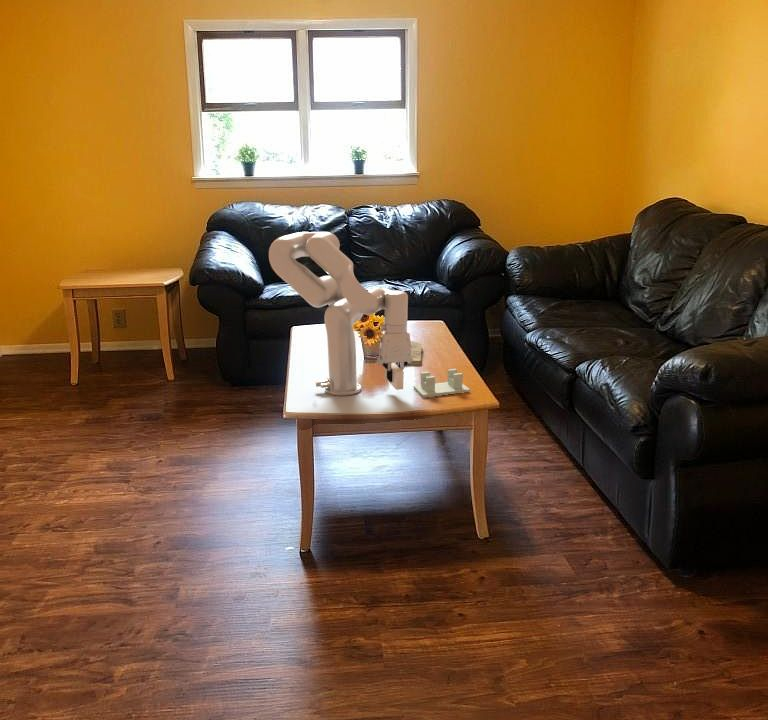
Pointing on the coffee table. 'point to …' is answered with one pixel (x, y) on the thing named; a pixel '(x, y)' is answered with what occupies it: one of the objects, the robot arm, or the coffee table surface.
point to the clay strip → (396, 377)
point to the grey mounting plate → (441, 385)
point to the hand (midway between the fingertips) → (394, 380)
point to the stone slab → (415, 353)
